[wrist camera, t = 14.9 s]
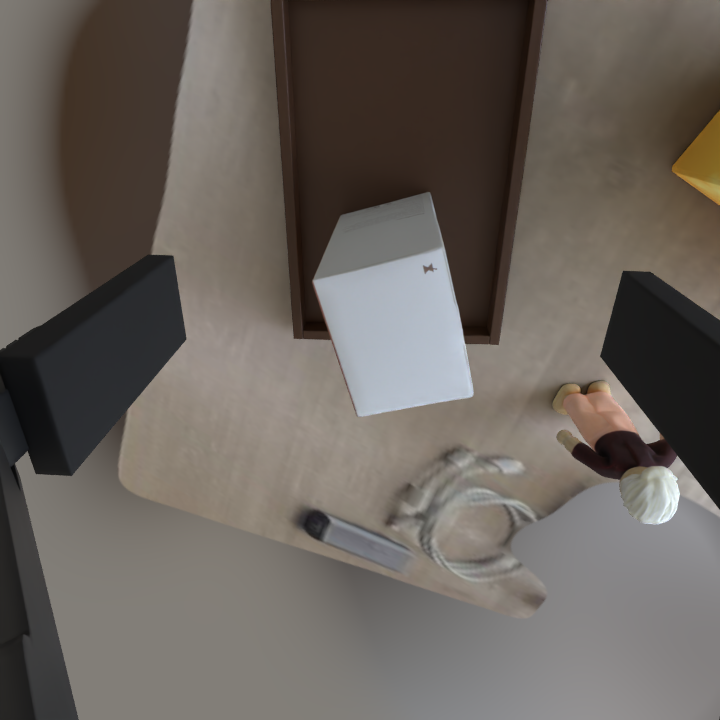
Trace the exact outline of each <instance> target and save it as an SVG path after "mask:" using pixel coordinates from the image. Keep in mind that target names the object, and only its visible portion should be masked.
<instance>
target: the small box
mask: <svg viewBox="0 0 720 720" xmlns="http://www.w3.org/2000/svg"><path fill="white" fill-rule="evenodd" d="M312 284H313V287H314V290H315V293H316V296H317V299H318V302H319V305H320V308H321V311H322V314H323V317H324V320H325V323H326V326H327V329H328V332H329V335H330V338H331V341H332V344H333V347H334V350H335V353H336V356H337V359H338V362H339V365H340V368H341V371H342V374H343V376H344V379H345V382H346V385H347V388H348V391H349V394H350V397H351V400H352V403H353V406H354V409H355V412H356V415H357V416H358V417H362V416H368V415H373V414H379V413H384V412H389V411H395V410H400V409H405V408H411V407H416V406H422V405H428V404H434V403H440V402H445V401H451V400H457V399H463V398H470V397H472V396H473V385H472V379H471V374H470V368H469V363H468V357H467V352H466V347H465V341H464V335H463V330H462V324H461V319H460V314H459V309H458V305H457V302H456V298H455V293H454V289H453V284H452V280H451V275H450V270H449V266H448V261H447V257H446V252H445V248H444V243H443V240H442V236H441V232H440V228H439V225H438V222H437V218H436V213H435V209H434V205H433V201H432V197H431V194H430V192H426V193H423V194H419V195H415V196H412V197H408V198H404V199H400V200H397V201H393V202H390V203H386V204H382V205H378V206H374V207H370V208H366V209H362V210H359V211H355V212H351V213H347V214H343V215H341V216H340V218H339V220H338V222H337V225H336V227H335V229H334V231H333V234H332V236H331V238H330V241H329V243H328V245H327V248H326V250H325V252H324V255H323V257H322V260H321V262H320V264H319V267H318V269H317V271H316V274H315V276H314V278H313V280H312Z"/></svg>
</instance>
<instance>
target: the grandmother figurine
mask: <svg viewBox="0 0 720 720" xmlns="http://www.w3.org/2000/svg"><path fill="white" fill-rule="evenodd" d="M552 406H553V409H554V410H555V411H557V412H558V413H560V414H564V415H567V414H569V416H570V417H571V419H572V420H573V422H574V423H575V425H576V426H577V428H578V430H579V432H580V433H581V435H582V436H583V438H584V439H585V441H586V442H587V443H588V444H589V445H590V446H591V448H592V449H591V448H590V447H589V446H587V445H586V444H584V443H582V442H581V441H579V440H578V439H577V438H576V437H573V436H572V434H571V433H570V432H569V431H567V430H561V431H559V432H558V434H557V440H558V442H559V443H561V444H563V445H564V446H565V448H566V449H567V450H568V451H569V452H570V453H571V454H572V456H573V457H574V458H575V459H577V460H578V461H580V462H582V463H583V464H585V465H586V466H588V467H590V468H591V469H592V470H594V471H595V472H596V473H598V474H600V475H601V476H604V477H607V478H612V479H619V480H620V484H619V487H620V492H621V498H622V499H623V500H624V506H625V507H626V508H627V509H628V511H629V514H630V515H631V516H632V517H633V518H635V519H637V520H638V521H639V522H641V523H646V524H659V523H664V522H666V521H668V520H669V519H670V518H672V516H673V514H674V513H675V512H676V510H677V504H678V500H679V495H680V494H679V488H678V485H677V483H676V480H678V478H677V477H676V476H674V475H673V474H672V472H671V471H670V470H669V469H667V468H668V467H669V466H670V465H671V464H672V463H673V462H674V460H675V459H676V457H677V454H676V453H675V452H674V450H673V449H672V448H671V446H670V445H669V444H668V443H667V441H666V440H665V439H664V437H663V436H662V435H661V434H660V440H659V441H657V442H654V443H650V444H645V443H644V442H643V441H642V440H641V438H640V436H639V434H638V432H637V430H636V428H635V427H634V425H633V423H632V422H631V420H630V418H629V417H628V415H627V414H626V413H625V412H624V410H623V409H622V408H621V407H620V406H619V405H618V404H617V402H616V401H615V400H614V398H613V397H612V396H611V393H610V386H609V384H608V383H607V382H605V381H597V382H594V383H592V384H591V385H590V386H589V387H588V391H587V394H586V395H582V394H581V389H580V387H579V386H578V385H576V384H565V385H563V386H562V387H561V389H560V390H559V392H558V394H557V395H556V397H555V399H554V400H553V403H552Z"/></svg>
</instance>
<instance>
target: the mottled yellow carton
mask: <svg viewBox="0 0 720 720" xmlns="http://www.w3.org/2000/svg"><path fill="white" fill-rule="evenodd" d="M672 172H674V173H675V174H676V175H678V176H679V177H681V178H682V179H683V180H685V181H686V182H687V183H689V184H690V185H692V186H693V187H694V188H696V189H697V190H699V191H700V192H701V193H703V194H704V195H705V196H707V197H708V198H710V199H711V200H712V201H714V202H715V203H717V204H718V205H719V206H720V110H719V111H718V113H717V114H716V115H715V116H714V117H713V119H712V120H711V121H710V122H709V123H708V124H707V126H706V127H705V128H704V129H703V130H702V132H701V133H700V134H699V135H698V136H697V137H696V139H695V140H694V141H693V142H692V143H691V145H690V146H689V147H688V148H687V149H686V151H685V152H684V153H683V154H682V155H681V156H680V158H679V159H678V160H677V161H676V162H675V164H674V165H673V166H672Z"/></svg>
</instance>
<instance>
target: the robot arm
mask: <svg viewBox="0 0 720 720" xmlns="http://www.w3.org/2000/svg"><path fill="white" fill-rule="evenodd" d="M185 340H186V333H185V327H184V321H183V314H182V308H181V302H180V295H179V289H178V282H177V276H176V270H175V263H174V257H173V256H169V255H147V256H146V257H144V258H142V259H141V260H140V261H138V262H137V263H135V264H134V265H132V266H130V267H129V268H127V269H126V270H124V271H123V272H121V273H120V274H118V275H117V276H115V277H114V278H112V279H111V280H109V281H108V282H106V283H105V284H103V285H102V286H100V287H99V288H97V289H96V290H94V291H93V292H91V293H90V294H88V295H87V296H85V297H84V298H82V299H80V300H79V301H77V302H76V303H74V304H73V305H72V306H70V307H69V308H67V309H66V310H64V311H62V312H61V313H59V314H58V315H56V316H55V317H53V318H52V319H50V320H49V321H47V322H46V323H44V324H43V325H41V326H38V327H36V328H33V329H32V330H30V331H29V332H27V333H26V334H24V335H23V336H21V337H19V340H15V341H13V342H12V343H10V344H9V345H7V346H6V348H3V349H1V350H0V720H78V715H77V711H76V707H75V703H74V699H73V695H72V691H71V686H70V682H69V678H68V674H67V670H66V666H65V662H64V657H63V653H62V649H61V645H60V641H59V637H58V633H57V629H56V625H55V620H54V616H53V612H52V608H51V604H50V600H49V595H48V591H47V587H46V583H45V579H44V575H43V571H42V566H41V563H40V558H39V554H38V550H37V546H36V541H35V537H34V533H33V529H32V526H31V521H30V517H29V512H28V508H27V504H26V500H25V496H24V492H23V488H22V483H21V479H20V476H19V473H18V471H17V468H16V465H15V462H17V461H18V460H19V459H20V458H21V457H22V456H23V455H24V454H25V453H26V452H27V451H28V453H29V456H30V459H31V462H32V464H33V467H34V470H35V473H36V474H47V475H66V476H72V475H73V473H74V472H75V471H76V470H77V469H78V468H79V466H80V465H81V464H82V463H83V462H84V460H85V459H86V458H87V457H88V456H89V455H90V453H91V452H92V451H93V450H94V449H95V447H96V446H97V445H98V444H99V443H100V441H101V440H102V439H103V438H104V437H105V436H106V434H107V433H108V432H109V430H111V428H112V427H113V426H114V425H115V424H116V422H117V421H118V420H119V419H120V418H121V416H122V415H123V414H124V413H125V412H126V411H127V409H128V408H129V407H130V406H131V405H132V403H133V402H134V401H135V400H136V399H137V397H138V396H139V395H140V394H141V393H142V391H143V390H144V389H145V388H146V387H147V386H148V384H149V383H150V382H151V381H152V380H153V378H154V377H155V376H156V375H157V374H158V372H159V371H160V370H161V369H162V368H163V367H164V365H165V364H166V363H167V362H168V361H169V359H170V358H171V357H172V356H173V355H174V353H175V352H176V351H177V350H178V349H179V347H180V346H181V345H182V344H183V343H184V342H185ZM600 357H601V358H602V359H603V361H604V362H605V363H606V364H607V366H608V367H609V368H610V370H611V371H612V372H613V373H614V375H615V376H616V377H617V379H618V380H619V381H620V382H621V384H622V385H623V386H624V387H625V389H626V390H627V391H628V393H629V394H630V395H631V396H632V398H633V399H634V400H635V402H636V403H637V404H638V405H639V407H640V408H641V409H642V411H643V412H644V413H645V414H646V416H647V417H648V418H649V420H650V421H651V422H652V423H653V425H654V426H655V427H656V429H657V430H658V431H659V432H660V434H661V435H662V436H663V437H664V439H665V440H666V441H667V443H668V444H669V445H670V446H671V448H672V449H673V450H674V452H675V453H676V454H677V455H678V457H679V458H680V459H681V461H682V462H683V463H684V464H685V466H686V467H687V468H688V470H689V471H690V472H691V473H692V475H693V476H694V477H695V478H696V480H697V481H698V482H699V484H700V485H701V486H702V487H703V489H704V490H705V491H706V493H707V494H708V495H709V496H710V498H711V499H712V500H713V502H714V503H715V504H716V505H717V507H718V508H719V509H720V320H718V319H717V318H715V317H714V316H713V315H711V314H710V313H708V312H707V311H705V310H704V309H703V308H701V307H700V306H698V305H697V304H695V303H694V302H693V301H691V300H690V299H688V298H687V297H685V296H684V295H683V294H681V293H680V292H678V291H677V290H675V289H674V288H673V287H671V286H670V285H668V284H667V283H665V282H664V281H663V280H661V279H660V278H658V277H657V276H655V275H654V274H653V273H651V272H639V271H623V273H622V276H621V280H620V284H619V288H618V292H617V295H616V299H615V303H614V307H613V310H612V314H611V318H610V322H609V325H608V329H607V333H606V337H605V340H604V344H603V348H602V352H601V355H600ZM719 720H720V718H719Z"/></svg>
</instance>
